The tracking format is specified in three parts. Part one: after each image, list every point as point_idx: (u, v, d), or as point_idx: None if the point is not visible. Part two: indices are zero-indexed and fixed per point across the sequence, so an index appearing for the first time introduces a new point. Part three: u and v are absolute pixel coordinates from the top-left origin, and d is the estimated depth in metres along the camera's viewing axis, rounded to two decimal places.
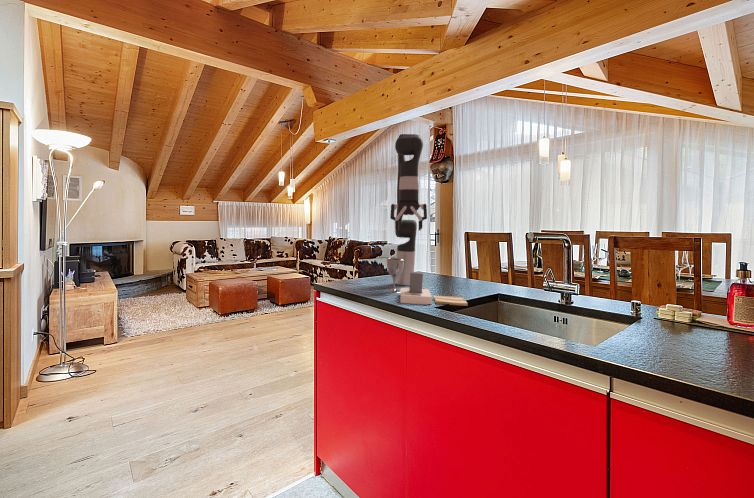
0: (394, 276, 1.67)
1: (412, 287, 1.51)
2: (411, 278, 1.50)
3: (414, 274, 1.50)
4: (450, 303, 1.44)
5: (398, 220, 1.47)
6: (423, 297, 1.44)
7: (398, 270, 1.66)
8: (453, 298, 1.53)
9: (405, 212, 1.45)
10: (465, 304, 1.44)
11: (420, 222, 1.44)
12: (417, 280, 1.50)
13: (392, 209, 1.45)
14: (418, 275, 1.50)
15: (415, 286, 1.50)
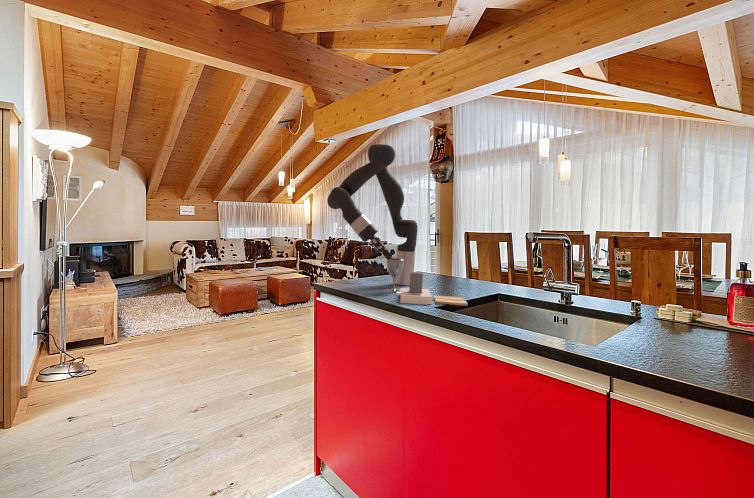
0: (394, 276, 1.67)
1: (412, 287, 1.51)
2: (411, 278, 1.50)
3: (414, 274, 1.50)
4: (450, 303, 1.44)
5: None
6: (423, 297, 1.44)
7: (398, 270, 1.66)
8: (453, 298, 1.53)
9: None
10: (465, 304, 1.44)
11: (383, 254, 1.48)
12: (417, 280, 1.50)
13: None
14: (418, 275, 1.50)
15: (415, 286, 1.50)
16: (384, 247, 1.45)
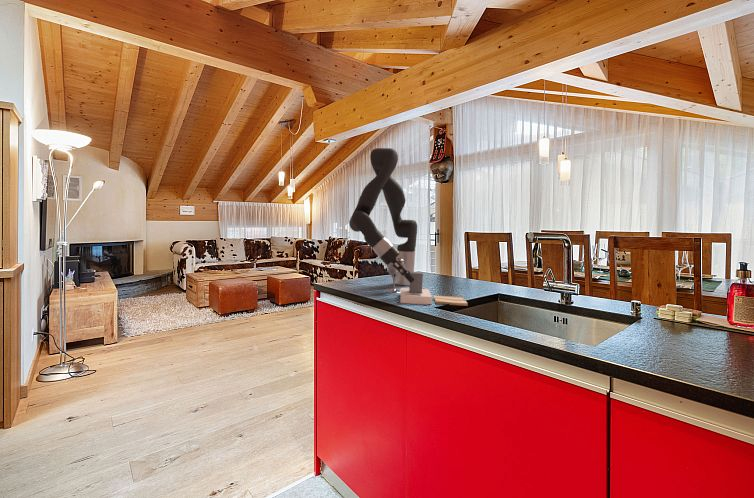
0: (394, 276, 1.67)
1: (412, 287, 1.51)
2: None
3: (414, 274, 1.50)
4: (450, 303, 1.44)
5: (406, 270, 1.56)
6: (423, 297, 1.44)
7: None
8: (453, 298, 1.53)
9: None
10: (465, 304, 1.44)
11: (405, 277, 1.48)
12: (417, 280, 1.50)
13: None
14: (418, 275, 1.50)
15: (415, 286, 1.50)
16: (406, 270, 1.46)
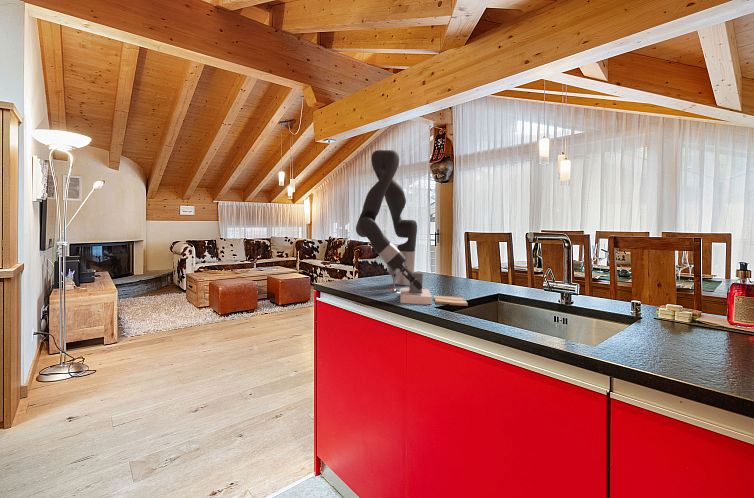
0: (394, 276, 1.67)
1: (412, 287, 1.51)
2: (411, 278, 1.50)
3: (414, 274, 1.50)
4: (450, 303, 1.44)
5: None
6: (423, 297, 1.44)
7: (398, 270, 1.66)
8: (453, 298, 1.53)
9: None
10: (465, 304, 1.44)
11: (413, 284, 1.50)
12: (417, 280, 1.50)
13: None
14: (418, 275, 1.50)
15: None
16: (415, 278, 1.48)
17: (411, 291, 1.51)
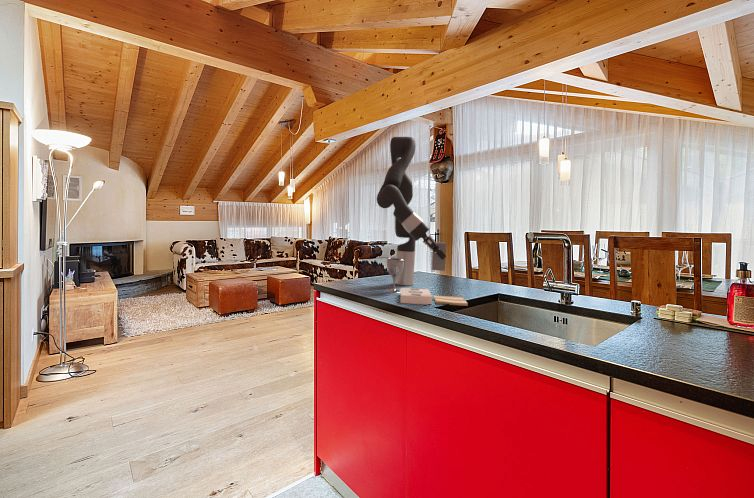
0: (394, 276, 1.67)
1: (435, 257, 1.48)
2: (434, 248, 1.48)
3: (437, 244, 1.48)
4: (450, 303, 1.44)
5: None
6: (423, 297, 1.44)
7: (398, 270, 1.66)
8: (453, 298, 1.53)
9: None
10: (465, 304, 1.44)
11: (437, 253, 1.48)
12: (441, 250, 1.48)
13: None
14: (441, 245, 1.48)
15: (438, 256, 1.48)
16: None
17: (434, 261, 1.49)
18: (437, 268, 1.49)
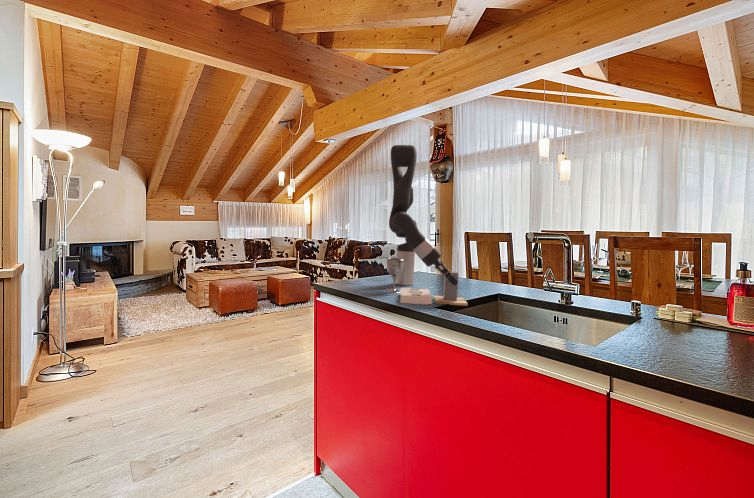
0: (394, 276, 1.67)
1: (447, 287, 1.49)
2: None
3: None
4: (450, 303, 1.44)
5: None
6: (423, 297, 1.44)
7: (398, 270, 1.66)
8: None
9: None
10: (465, 304, 1.44)
11: (449, 279, 1.47)
12: None
13: None
14: (453, 275, 1.48)
15: (450, 286, 1.48)
16: None
17: (446, 291, 1.49)
18: (449, 298, 1.49)
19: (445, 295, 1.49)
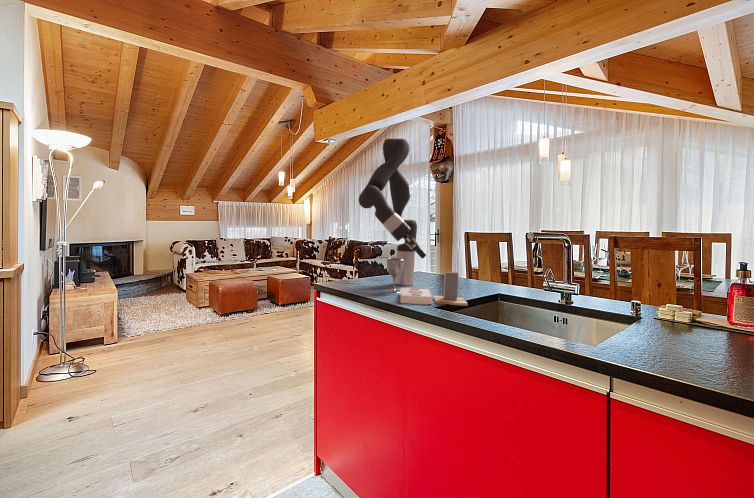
0: (394, 276, 1.67)
1: (447, 287, 1.49)
2: (446, 278, 1.48)
3: (449, 274, 1.48)
4: (450, 303, 1.44)
5: None
6: (423, 297, 1.44)
7: (398, 270, 1.66)
8: None
9: None
10: (465, 304, 1.44)
11: (417, 252, 1.46)
12: (453, 280, 1.48)
13: None
14: (453, 275, 1.48)
15: (450, 286, 1.48)
16: (418, 246, 1.44)
17: (446, 291, 1.49)
18: (449, 298, 1.49)
19: (445, 295, 1.49)
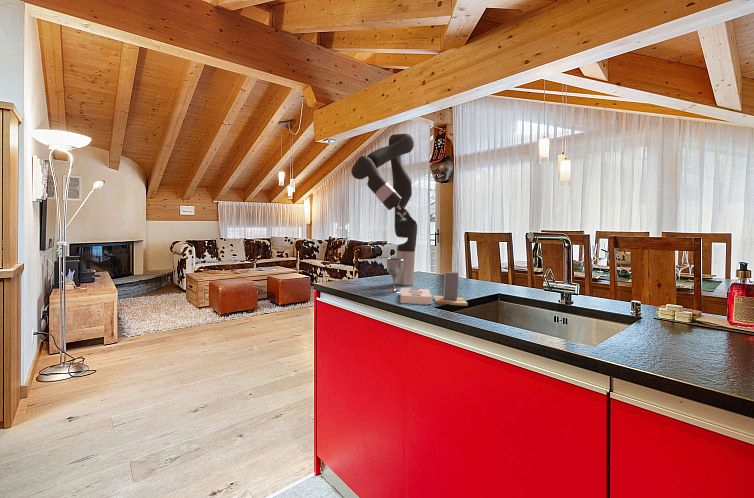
0: (394, 276, 1.67)
1: (447, 287, 1.49)
2: (446, 278, 1.48)
3: (449, 274, 1.48)
4: (450, 303, 1.44)
5: None
6: (423, 297, 1.44)
7: (398, 270, 1.66)
8: None
9: None
10: (465, 304, 1.44)
11: (407, 220, 1.52)
12: (453, 280, 1.48)
13: None
14: (453, 275, 1.48)
15: (450, 286, 1.48)
16: (408, 213, 1.50)
17: (446, 291, 1.49)
18: (449, 298, 1.49)
19: (445, 295, 1.49)
